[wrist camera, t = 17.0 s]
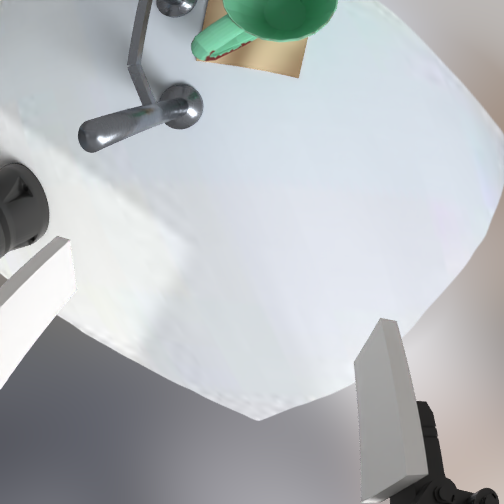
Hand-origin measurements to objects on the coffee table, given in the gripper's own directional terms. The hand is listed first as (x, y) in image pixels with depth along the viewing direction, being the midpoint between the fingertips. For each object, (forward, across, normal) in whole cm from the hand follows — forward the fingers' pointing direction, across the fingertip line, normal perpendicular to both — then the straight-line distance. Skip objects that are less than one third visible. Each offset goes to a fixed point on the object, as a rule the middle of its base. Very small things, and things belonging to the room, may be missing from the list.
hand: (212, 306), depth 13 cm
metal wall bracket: (+29, -14, +10) cm, 33 cm away
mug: (+29, -4, +15) cm, 32 cm away
